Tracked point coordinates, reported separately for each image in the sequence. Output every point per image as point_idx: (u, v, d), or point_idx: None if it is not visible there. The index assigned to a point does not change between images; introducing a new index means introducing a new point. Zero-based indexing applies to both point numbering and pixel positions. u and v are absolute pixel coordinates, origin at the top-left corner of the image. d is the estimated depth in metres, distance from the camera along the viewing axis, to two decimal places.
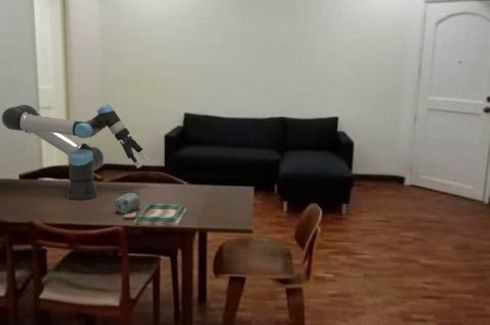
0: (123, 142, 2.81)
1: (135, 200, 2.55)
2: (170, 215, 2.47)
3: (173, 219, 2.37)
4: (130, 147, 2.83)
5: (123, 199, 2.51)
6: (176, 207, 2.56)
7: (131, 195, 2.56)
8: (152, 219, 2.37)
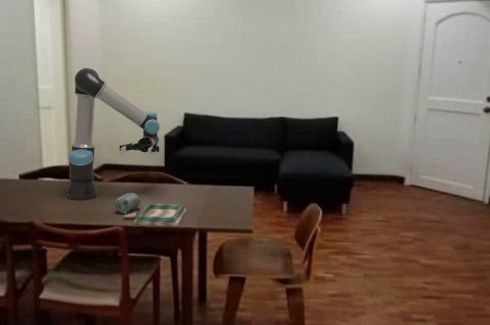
0: None
1: (135, 200, 2.55)
2: (170, 215, 2.47)
3: (173, 219, 2.37)
4: None
5: (123, 199, 2.51)
6: (176, 207, 2.56)
7: (131, 195, 2.56)
8: (152, 219, 2.37)
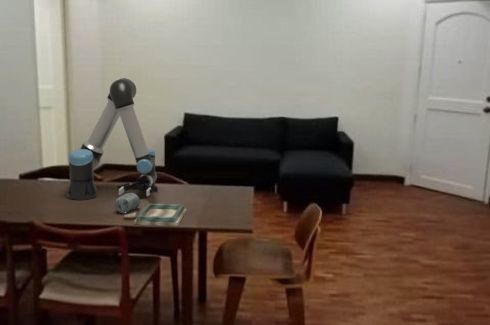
0: None
1: (135, 200, 2.55)
2: (170, 215, 2.47)
3: (173, 219, 2.37)
4: None
5: (123, 199, 2.51)
6: (176, 207, 2.56)
7: (131, 195, 2.56)
8: (152, 219, 2.37)
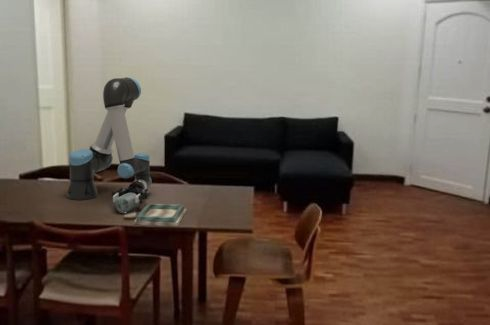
0: (147, 192, 2.67)
1: None
2: (170, 215, 2.47)
3: (173, 219, 2.37)
4: None
5: (123, 198, 2.51)
6: (176, 207, 2.56)
7: (131, 195, 2.56)
8: (152, 219, 2.37)
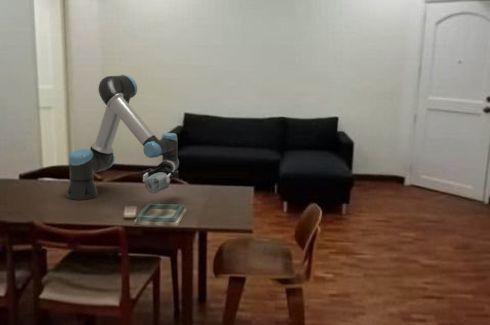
0: None
1: None
2: (170, 215, 2.47)
3: (173, 219, 2.37)
4: None
5: (154, 178, 2.40)
6: (176, 207, 2.56)
7: (161, 174, 2.45)
8: (152, 219, 2.37)
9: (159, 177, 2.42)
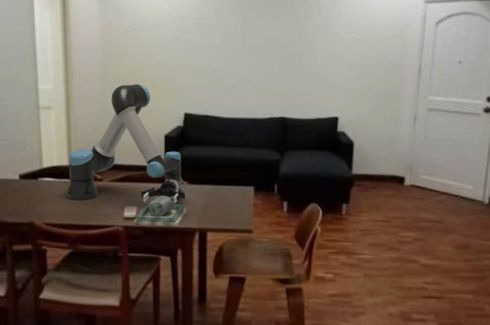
0: None
1: (169, 203, 2.45)
2: (170, 215, 2.47)
3: (173, 219, 2.37)
4: (175, 196, 2.54)
5: (157, 202, 2.41)
6: (176, 207, 2.56)
7: (165, 198, 2.46)
8: (152, 219, 2.37)
9: (163, 201, 2.43)
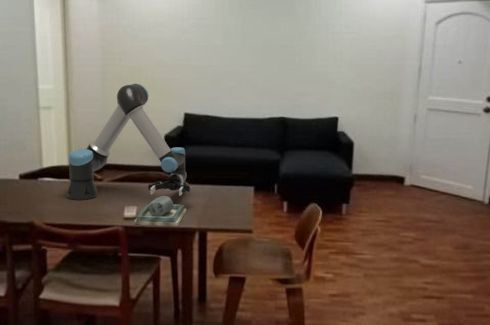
0: None
1: (169, 203, 2.45)
2: (170, 215, 2.47)
3: (173, 219, 2.37)
4: (180, 189, 2.66)
5: (157, 202, 2.41)
6: (176, 207, 2.56)
7: (165, 198, 2.46)
8: (152, 219, 2.37)
9: (163, 201, 2.43)
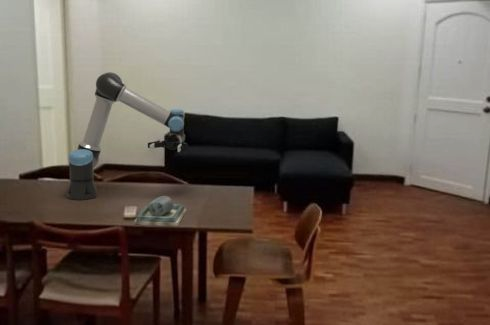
0: None
1: (169, 203, 2.45)
2: (170, 215, 2.47)
3: (173, 219, 2.37)
4: None
5: (157, 202, 2.41)
6: (176, 207, 2.56)
7: (165, 198, 2.46)
8: (152, 219, 2.37)
9: (163, 201, 2.43)
